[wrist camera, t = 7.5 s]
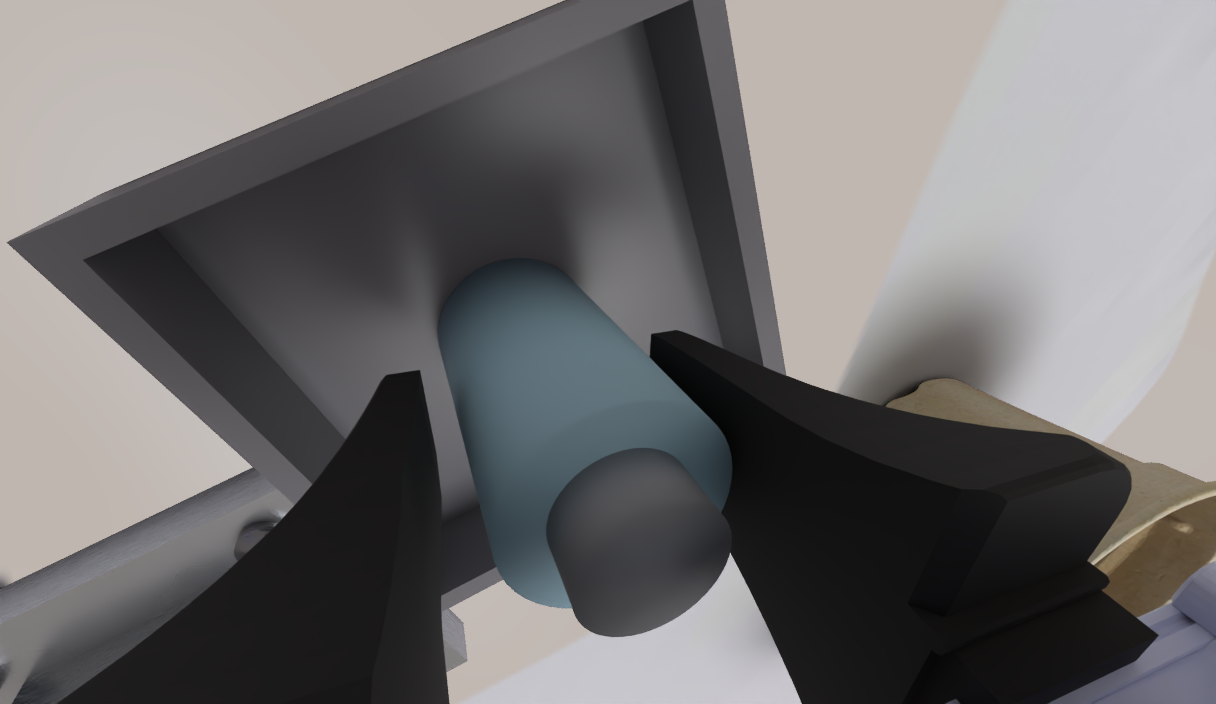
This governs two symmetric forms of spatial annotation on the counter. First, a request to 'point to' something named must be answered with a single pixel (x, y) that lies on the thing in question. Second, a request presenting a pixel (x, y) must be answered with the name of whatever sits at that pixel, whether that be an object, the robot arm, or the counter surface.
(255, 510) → the stud mount
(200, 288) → the parts bin
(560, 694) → the counter surface
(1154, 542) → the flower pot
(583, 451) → the light blue bottle
